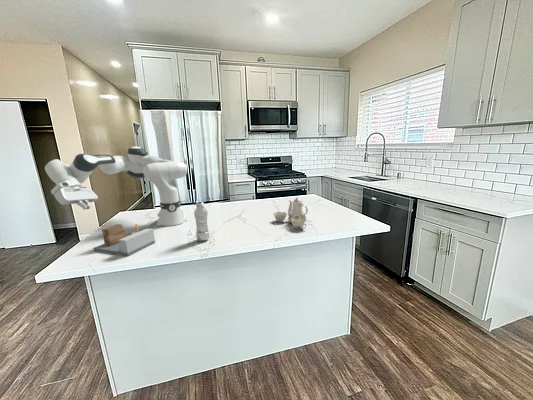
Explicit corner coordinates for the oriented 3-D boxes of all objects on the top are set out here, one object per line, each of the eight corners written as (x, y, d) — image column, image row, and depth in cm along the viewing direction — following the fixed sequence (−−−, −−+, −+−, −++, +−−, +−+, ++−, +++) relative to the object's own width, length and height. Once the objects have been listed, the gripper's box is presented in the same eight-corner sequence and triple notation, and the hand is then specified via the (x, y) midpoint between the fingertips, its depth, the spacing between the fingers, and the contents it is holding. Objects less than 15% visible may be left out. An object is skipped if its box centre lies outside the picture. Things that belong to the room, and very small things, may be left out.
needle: (134, 240, 124) (132, 224, 122) (139, 238, 127) (137, 222, 125) (137, 240, 124) (134, 224, 122) (142, 238, 126) (139, 222, 125)
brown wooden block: (104, 244, 120) (101, 229, 118) (126, 235, 131) (124, 221, 130) (110, 245, 119) (107, 229, 117) (132, 236, 130) (129, 222, 128)
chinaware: (269, 224, 155) (266, 199, 150) (288, 216, 164) (285, 192, 160) (301, 235, 133) (298, 206, 128) (321, 225, 143) (319, 198, 138)
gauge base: (94, 250, 117) (91, 236, 116) (123, 238, 132) (120, 225, 130) (128, 256, 110) (125, 240, 108) (155, 243, 125) (153, 229, 123)
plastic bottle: (197, 238, 129) (194, 201, 125) (210, 237, 130) (207, 200, 125) (195, 243, 123) (191, 204, 119) (208, 242, 123) (205, 203, 119)
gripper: (83, 190, 135) (98, 210, 135) (47, 191, 115) (65, 214, 115) (91, 183, 134) (106, 203, 134) (56, 183, 114) (74, 206, 114)
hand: (87, 208), depth 124 cm, fingers closed
